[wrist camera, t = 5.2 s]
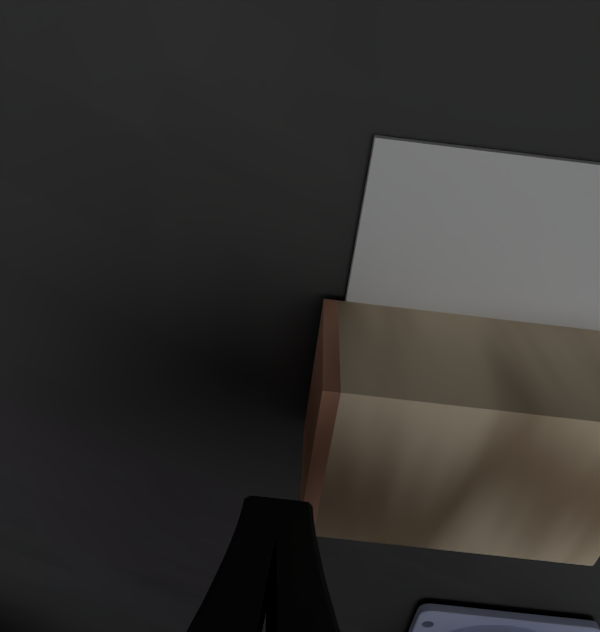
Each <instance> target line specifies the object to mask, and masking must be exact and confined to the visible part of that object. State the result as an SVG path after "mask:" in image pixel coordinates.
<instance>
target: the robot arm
mask: <svg viewBox="0 0 600 632" xmlns="http://www.w3.org/2000/svg"><path fill="white" fill-rule="evenodd" d="M265 613H266V632H340V630H339V627H338V623H337V620H336V616H335V613H334V609H333V606H332V602H331V599H330V595H329V591H328V588H327V584H326V580H325V576H324V572H323V567H322V563H321V558H320V553H319V549H318V543H317V538H316V531H315V524H314V516H313V506H312V505H311V504H310V503H309V502H304V501H295V500H286V499H277V498H268V497H259V496H249V497H247V498H245V499H244V503H243V507H242V511H241V514H240V517H239V520H238V523H237V526H236V529H235V532H234V534H233V537H232V540H231V542H230V544H229V547H228V549H227V551H226V554H225V556H224V559H223V561H222V563H221V565H220V567H219V569H218V571H217V573H216V576H215V578H214V580H213V582H212V584H211V586H210V588H209V590H208V592H207V594H206V596H205V598H204V600H203V602H202V604H201V606H200V608H199V610H198V612H197V613H196V615H195V617H194V619H193V621H192V623H191V624H190V626H189V628H188V630H187V632H262V629H263V624H264V619H265ZM408 632H600V629H599V627H598V624H597V623H596V622H594V621H591V620H584V619H574V618H565V617H555V616H546V615H537V614H527V613H518V612H508V611H499V610H489V609H480V608H471V607H461V606H452V605H442V604H433V603H426V604H423V605H421V606H420V607H419V608H418V609H417V612H416V614H415V617H414V619H413V621H412V624H411V626H410V628H409V631H408Z"/></svg>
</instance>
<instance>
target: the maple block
mask: <svg viewBox="0 0 600 632" xmlns="http://www.w3.org/2000/svg"><path fill="white" fill-rule="evenodd" d="M300 501H304V502H309V503H310V504H311V505H312V506H313V516H314V524H315V531H316V536H319V537H328V538H338V539H347V540H356V541H365V542H375V543H384V544H393V545H402V546H412V547H421V548H430V549H439V550H449V551H458V552H467V553H476V554H486V555H495V556H504V557H514V558H523V559H532V560H541V561H551V562H560V563H569V564H578V565H588V566H593V565H594V563H595V562H596V561H597V559H598V558H599V556H600V331H597V330H589V329H580V328H572V327H563V326H554V325H546V324H537V323H528V322H520V321H511V320H503V319H494V318H485V317H477V316H468V315H460V314H451V313H442V312H434V311H425V310H417V309H408V308H399V307H391V306H382V305H374V304H365V303H356V302H348V301H339V300H331V299H324V300H323V307H322V313H321V320H320V326H319V333H318V339H317V346H316V353H315V359H314V366H313V372H312V379H311V385H310V392H309V399H308V405H307V412H306V418H305V425H304V438H303V456H302V474H301V492H300Z"/></svg>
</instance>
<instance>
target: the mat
mask: <svg viewBox="0 0 600 632" xmlns="http://www.w3.org/2000/svg"><path fill="white" fill-rule="evenodd" d="M345 301H348V302H356V303H365V304H374V305H382V306H391V307H399V308H408V309H417V310H425V311H434V312H442V313H451V314H460V315H468V316H477V317H485V318H494V319H503V320H511V321H520V322H528V323H537V324H546V325H554V326H563V327H572V328H580V329H589V330H597V331H600V162H593V161H584V160H576V159H568V158H560V157H552V156H544V155H535V154H527V153H519V152H511V151H503V150H494V149H486V148H478V147H470V146H462V145H453V144H445V143H437V142H429V141H421V140H412V139H404V138H396V137H388V136H380V135H374V139H373V144H372V150H371V155H370V161H369V167H368V172H367V178H366V184H365V189H364V195H363V200H362V206H361V212H360V217H359V223H358V229H357V234H356V240H355V246H354V251H353V257H352V262H351V268H350V274H349V279H348V285H347V291H346V296H345Z"/></svg>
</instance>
